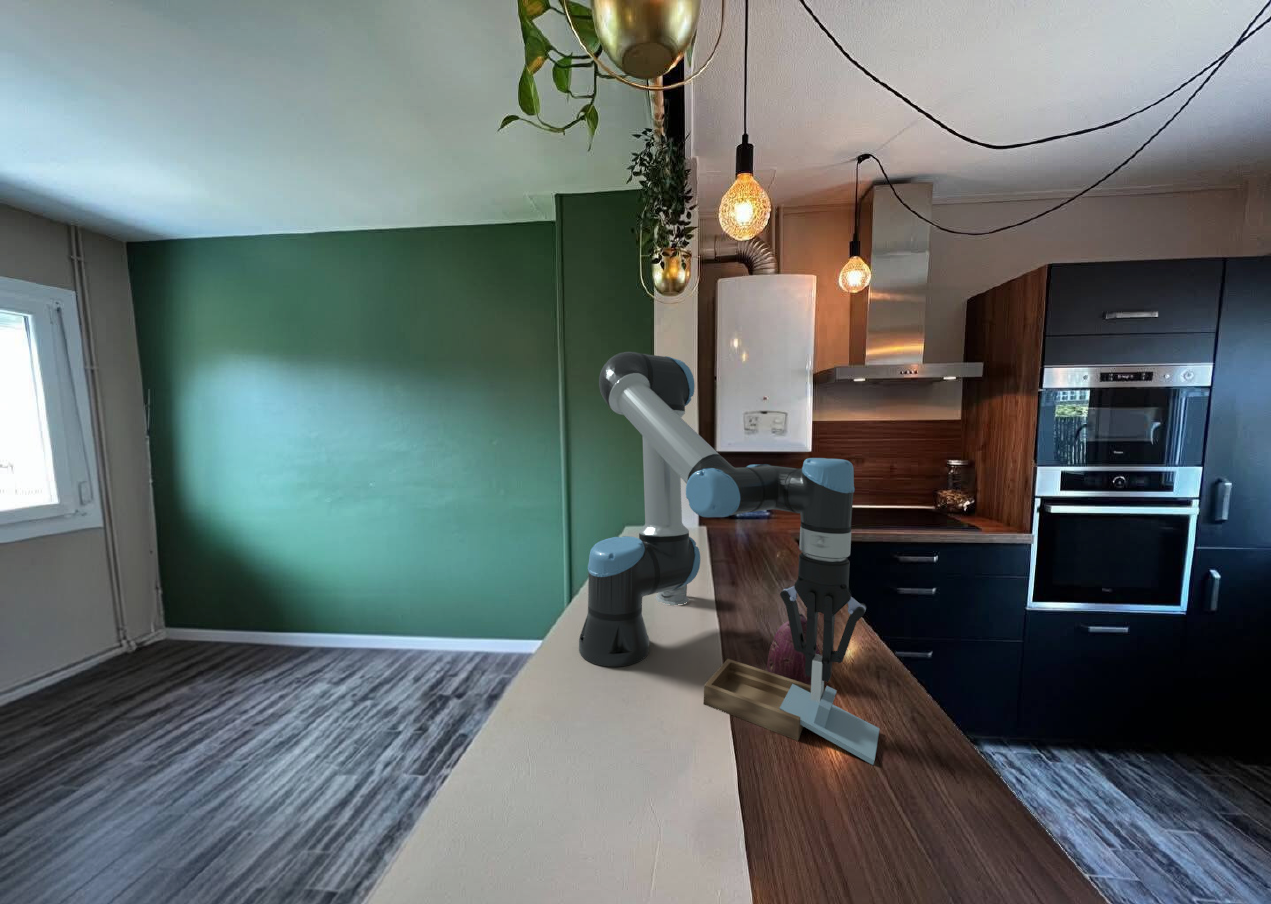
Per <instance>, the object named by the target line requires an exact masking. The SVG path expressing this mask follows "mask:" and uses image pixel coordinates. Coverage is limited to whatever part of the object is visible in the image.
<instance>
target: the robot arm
mask: <svg viewBox="0 0 1271 904" xmlns="http://www.w3.org/2000/svg"><path fill="white" fill-rule="evenodd" d="M598 388H599V392H600V394H601V396H602V398H603V400H604V402H605V403H606V404H607V405H608V407H609V408H610V409H611V410H612V411H613V412H614V413H616V414H617V415H622V416H624V417H625V418H626V419H627V420H628V421H629V422H630V424H632V426H633V427H634V428H635V429H636V430H637V431H638V432H639V434H640V435H641V436H642V460H643V462H642V463H643V464H642V465H643V492H644V493H643V495H644V525H643V527H641V529H640V530H639V531H638V537H635V536H626V535H625V536H624V535H623V536H613V537H609V538H605V539H602V540H599V541H598V542H596V543H595V544H594V545H593V546H592V547H591V549H590V550H589V551H590V552H589V557H588V558H589V559H588V564H587V570H588V582H587V583H588V585H587V586H588V589H587V590H588V591H587V593H588V594H587V596H588V597H587V614H586V618H585V621H584V624H583V626H582V630H581V632H580V636H579V639H578V651H579V654H580V656H581V657H582V658H583V659H585V661H587V662H589V663H592V664H594V665H599V666H601V667H616V668H617V667H625V666H626V667H627V666H630V665H633V664H636V663H639V662H640V661H642V660H644V659H645V658H646V657H647V656H648V654H649V651H650V637H649V635H648V632H647V628H646V624H645V620H644V617H643V597H646V596H650V595H654V594H658V592H662V591H666V590H670V589H677V588H680V587H681V586H684V585H687V586H688V585H689V584H690V583H691V582H693V581H694V579H696V577H697V575H698V573H699V572H700V571H699V570H700V567H701V553H700V549H699V547H698V546H696V545H697V542H696V541H695V539H694V538H692V537H691V536H690V530H689V529H688V528H687V527H686V526H685V525H684V524H683V514H682V513H683V510H682V484H681V481H682V480H683V482H684V483H685V484H686V485H685V496H686V497H685V498H686V499H687V501H688V503H689V504H688V506H689V508H690V509H691V511H693V513H695V514H696V515H698V516H700V517H703V518H725V517H729V516H733V515H739V514H744V513H745V514H746V513H747V514H748V513H753V512H754V513H756V512H761V511H767V510H768V511H769V510H779V511H784V512H790V513H793V514H794V513H795V514H800V529H799V545H798V546H799V550H800V554H798V567H797V568H798V570H797V579H796V581H795V583H794V585H793V586H790V587H789V586H788V587H784V588H783V589H782V591H780V593H779V596H780V598H781V600H782V601H783V603H784V604H785V608H786V613H787V617H788V621H789V624H790V629H791V634H792V639H793V645H794V649H795V650H796V651H798V652H801V653H803V654H804V655H805V657H806V662H805V674H806V676H809V677H812V678H811V699H810V700H813V701H816V702H819V703H820V701H821V699H822V696H823V694H824V691H825V682H826V683H829V682H830V680H831V679H832V671H833V663H837V664H841V663H843V661H844V659H845V656H846V653H847V651H848V649H849V645H850V642H851V640H852V637H853V634H854V630H855V629H856V625H857V622H858V621H859V620H860V619H861V618H862V617H864V615H865V612H866V610H867V606H866V604H865V603H864V602H863V603H862V602H858V601H857V600H856V599H855V598H854V597H852V590H851V589H850V583H849V582H850V581H849V580H850V562H851V561H850V560H849V558H848V557H850V556H851V549H852V548H851V546H852V545H851V544H852V517H853V515H852V514H853V505H854V504H853V503H854V493H855V489H856V488H855V485H854V483H855V477H854V476H855V475H854V474H855V473H854V465H853V464H852V462H851V461H850V460H847V459H840V458H825V457H809V458H806V459H804V461H803V464H802V467H801V468H796V467H795V468H794V467H786V466H777V465H771V464H767V463H763V464H761V463H760V464H749V465H747V466H745V467H734V466H733V465H732V464H731V463H729V462H728V460H726V459H725V458H724V457H723V456H722V455H720V453H718V451H716V450H715V449H714V447H712V446H711V445H710V444H709V443H708V442H707V441H706V440H705V439H704V438H703V437H702V436H701V434H699V433H698V432H697V431H695V430H694V428H693V427H692V426H690V424H688V423H687V422H686V421H685V420H684V419H683V418H682V417H684V415H685V414H686V409H685V408H686V406H688V404H690V403H691V401H692V397H694V395H695V394H694V393H695V378H694V375H693V372H692V369H690V367H689V365H687V364H686V363H685V362H684V361H683V360H680V359H678V358H673V357H671V356H661V355H656V354H655V355H654V354H647V353H640V352H636V351H625V352H619V353H617V354H615V355H613V356H611V358H609V359H608V360H607V361H606V362H605V363H604V365H603V366H602V368H601V370H600V373H599V378H598ZM798 597H799V598H800V599H801V600H800V601H801V602H802V603H803V605H804V606H805V607H806V620H807V629H806V643H805V640H804V635H803V630H802V625H801V620H800V615H799V613H800V611H799V605H798V601H797V599H798ZM845 605H848V608H847V613H848V614H849V616H848V619H847V621H846V624H845V627H844V630H843V632H842V635H841V638H840V641H839V644H838V647H837V649H836V650H834V645H835V643H834V642H835V640H834V638H835V621H836V620H835V619H836V614H838V612H839V611H841V610H842V609H843V608H844V607H845ZM819 613H821V614H822V615H823V631H822V632H823V636H822V653H821V654H820V655H819V654H816V655H815V652H816V650H817V648H816V644H817V643H818V642H817V641H818V621H819ZM817 645H818V644H817Z"/></svg>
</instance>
